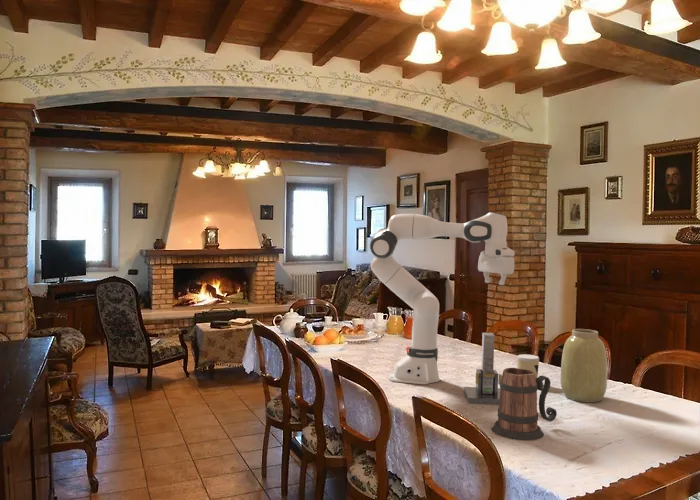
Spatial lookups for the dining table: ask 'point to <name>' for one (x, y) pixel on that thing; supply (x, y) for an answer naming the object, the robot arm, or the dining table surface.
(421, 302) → the robot arm
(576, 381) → the vase
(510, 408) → the tankard
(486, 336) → the column
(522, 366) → the coffee cup
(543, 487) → the dining table surface
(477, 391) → the stand base
